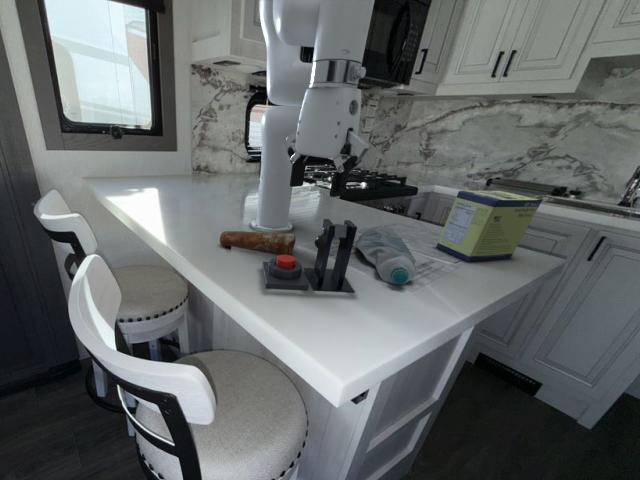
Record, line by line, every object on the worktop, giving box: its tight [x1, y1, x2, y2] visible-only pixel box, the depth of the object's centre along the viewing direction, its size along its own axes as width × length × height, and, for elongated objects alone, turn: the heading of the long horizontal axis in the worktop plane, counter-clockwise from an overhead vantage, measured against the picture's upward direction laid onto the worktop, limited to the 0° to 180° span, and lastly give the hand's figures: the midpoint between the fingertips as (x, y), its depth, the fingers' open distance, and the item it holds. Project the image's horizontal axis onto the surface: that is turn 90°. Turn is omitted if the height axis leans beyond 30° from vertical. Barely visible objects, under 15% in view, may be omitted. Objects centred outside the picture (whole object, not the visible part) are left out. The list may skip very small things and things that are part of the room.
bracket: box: [303, 218, 358, 294], centre depth 59 cm, size 10×8×13 cm
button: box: [276, 254, 296, 269], centre depth 60 cm, size 4×4×2 cm
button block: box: [261, 257, 310, 291], centre depth 61 cm, size 10×8×4 cm
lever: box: [314, 223, 347, 249], centre depth 62 cm, size 13×3×3 cm, turn 0°
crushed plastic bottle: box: [355, 226, 417, 285], centre depth 69 cm, size 13×7×25 cm
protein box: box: [435, 190, 543, 263], centre depth 80 cm, size 10×16×16 cm
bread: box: [219, 230, 297, 256], centre depth 75 cm, size 6×19×6 cm, turn 71°
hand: (315, 190), depth 57 cm, fingers open, 9 cm apart
